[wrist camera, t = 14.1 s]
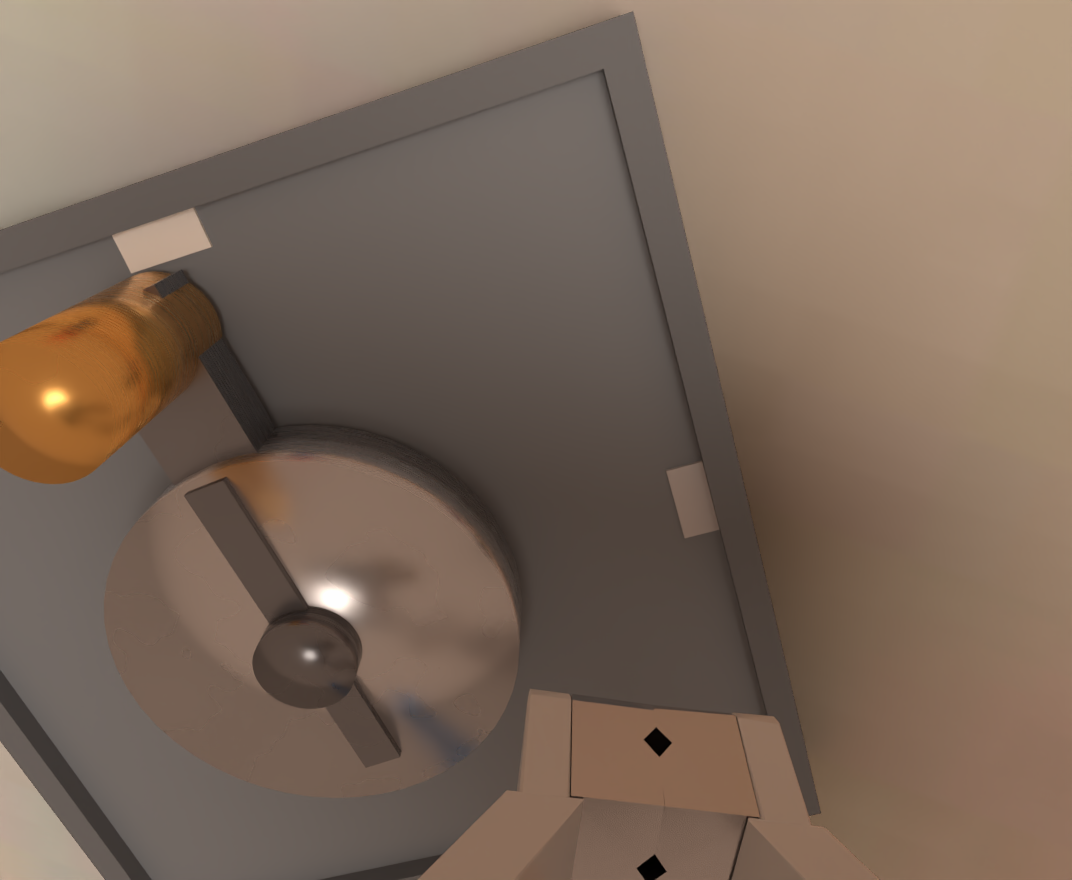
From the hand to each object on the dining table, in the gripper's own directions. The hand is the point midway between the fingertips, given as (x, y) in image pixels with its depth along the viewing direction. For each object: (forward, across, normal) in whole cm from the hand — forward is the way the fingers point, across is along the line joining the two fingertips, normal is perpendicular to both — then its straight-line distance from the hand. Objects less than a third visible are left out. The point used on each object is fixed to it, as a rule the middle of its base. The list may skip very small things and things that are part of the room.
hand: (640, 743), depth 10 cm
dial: (+10, +8, +4) cm, 13 cm away
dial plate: (+12, +7, +6) cm, 15 cm away
